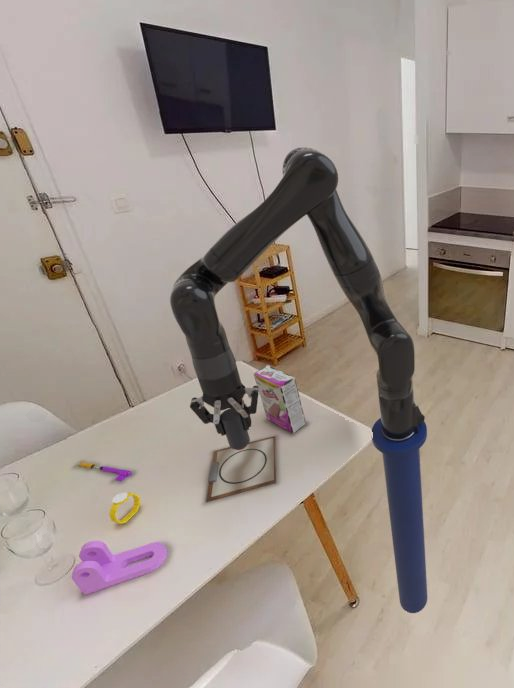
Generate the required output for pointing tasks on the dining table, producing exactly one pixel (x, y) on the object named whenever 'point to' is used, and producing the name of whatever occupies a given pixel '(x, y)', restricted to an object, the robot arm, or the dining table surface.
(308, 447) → the dining table surface
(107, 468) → the purple pen tool
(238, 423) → the dark gray cylinder
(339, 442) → the dining table surface
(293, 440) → the dining table surface
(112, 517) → the watch
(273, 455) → the clipboard
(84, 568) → the bracket
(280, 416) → the candy bar box
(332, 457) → the dining table surface
